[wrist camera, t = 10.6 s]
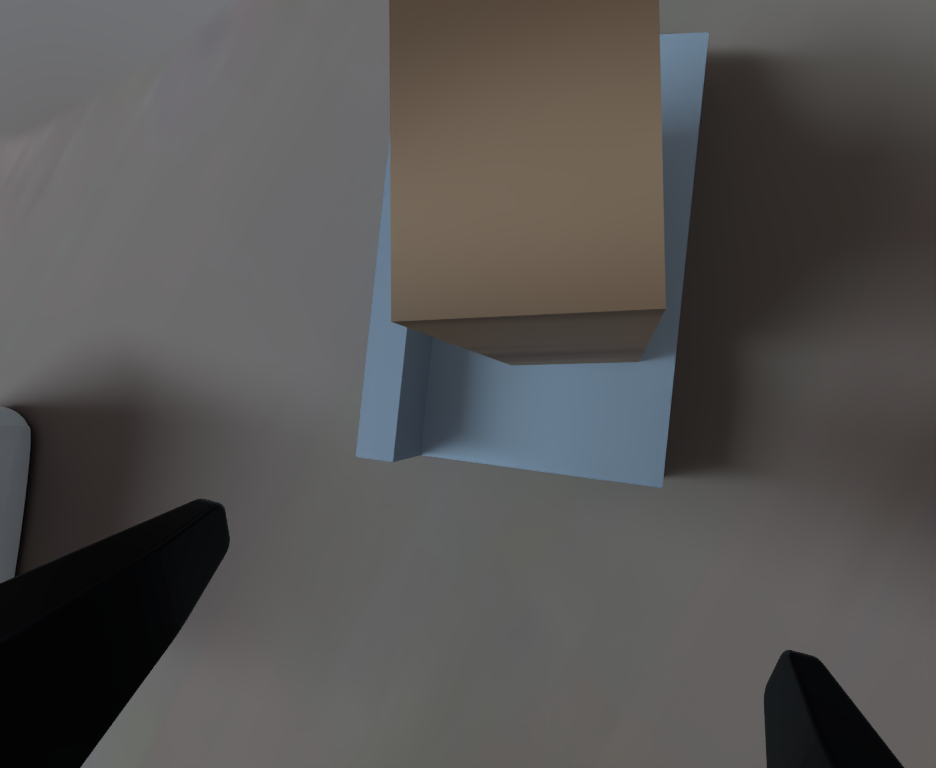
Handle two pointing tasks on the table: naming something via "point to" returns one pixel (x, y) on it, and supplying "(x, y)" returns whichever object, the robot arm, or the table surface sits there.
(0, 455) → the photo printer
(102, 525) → the table surface
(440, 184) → the frame block
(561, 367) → the picture shelf
